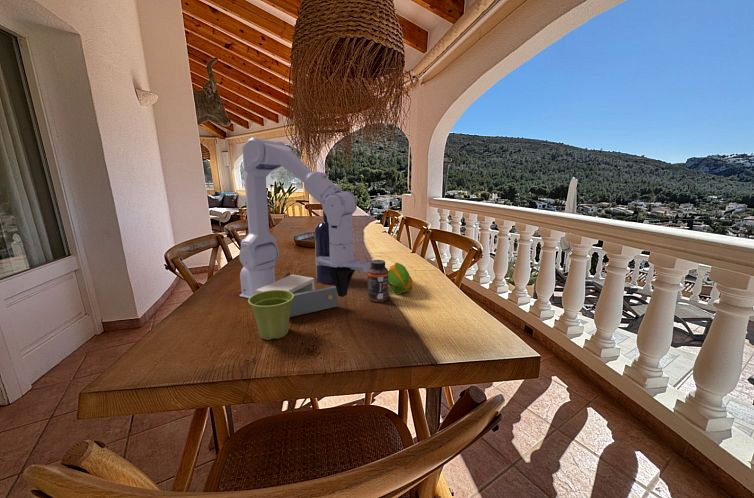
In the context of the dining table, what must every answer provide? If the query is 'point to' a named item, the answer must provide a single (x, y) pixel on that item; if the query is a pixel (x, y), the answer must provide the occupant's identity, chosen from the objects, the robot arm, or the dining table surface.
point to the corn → (399, 279)
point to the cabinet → (291, 284)
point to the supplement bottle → (378, 281)
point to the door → (313, 301)
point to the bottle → (322, 250)
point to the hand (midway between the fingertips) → (342, 295)
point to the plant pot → (272, 312)
